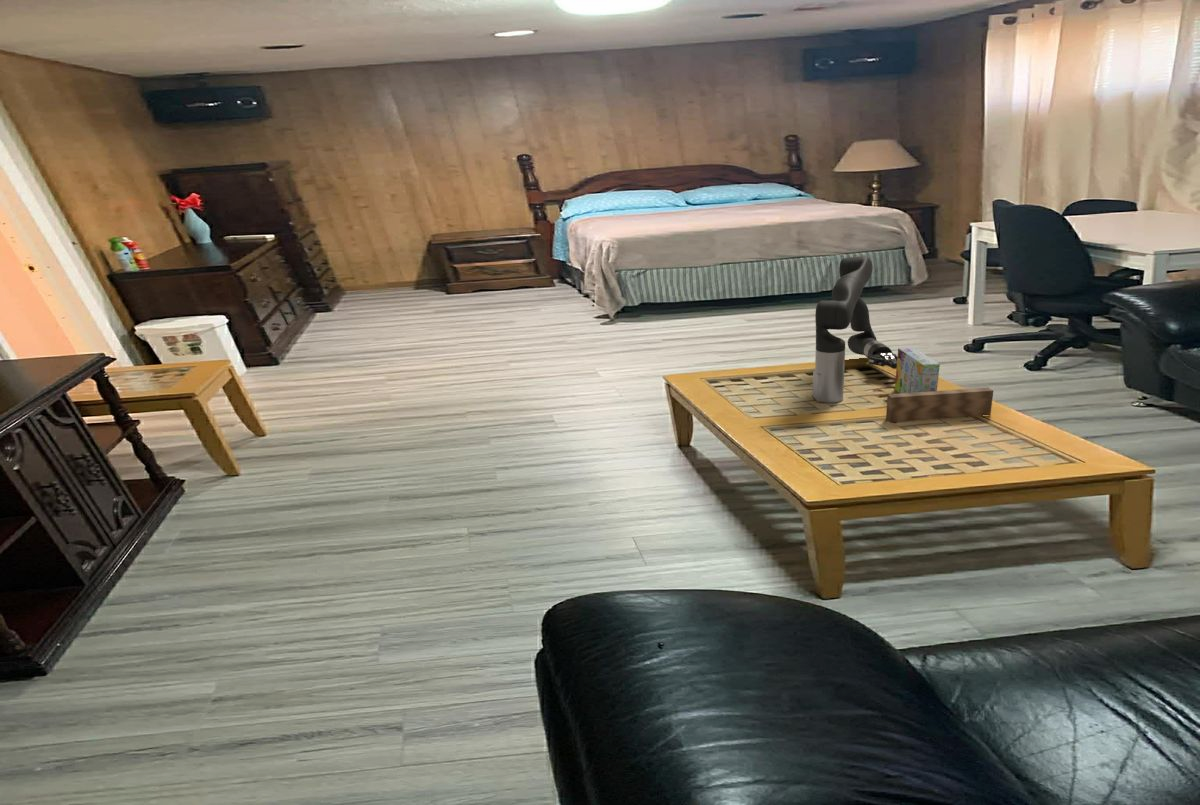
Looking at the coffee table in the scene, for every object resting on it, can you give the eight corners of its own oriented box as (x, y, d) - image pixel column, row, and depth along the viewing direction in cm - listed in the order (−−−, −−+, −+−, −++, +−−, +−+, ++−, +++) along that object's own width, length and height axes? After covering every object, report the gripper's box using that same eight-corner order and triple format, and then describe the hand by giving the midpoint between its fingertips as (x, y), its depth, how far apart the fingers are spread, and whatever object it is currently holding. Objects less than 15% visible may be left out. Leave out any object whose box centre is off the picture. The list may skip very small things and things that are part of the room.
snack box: (936, 409, 214) (941, 363, 209) (918, 411, 214) (922, 364, 209) (910, 388, 234) (913, 346, 229) (893, 389, 234) (896, 347, 229)
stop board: (889, 422, 207) (891, 397, 204) (885, 418, 210) (887, 394, 207) (990, 415, 206) (993, 390, 203) (985, 412, 209) (988, 387, 206)
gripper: (860, 344, 252) (877, 357, 236) (896, 341, 252) (916, 354, 235) (859, 363, 255) (876, 377, 238) (894, 361, 254) (914, 375, 238)
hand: (896, 366), depth 237 cm, fingers closed
